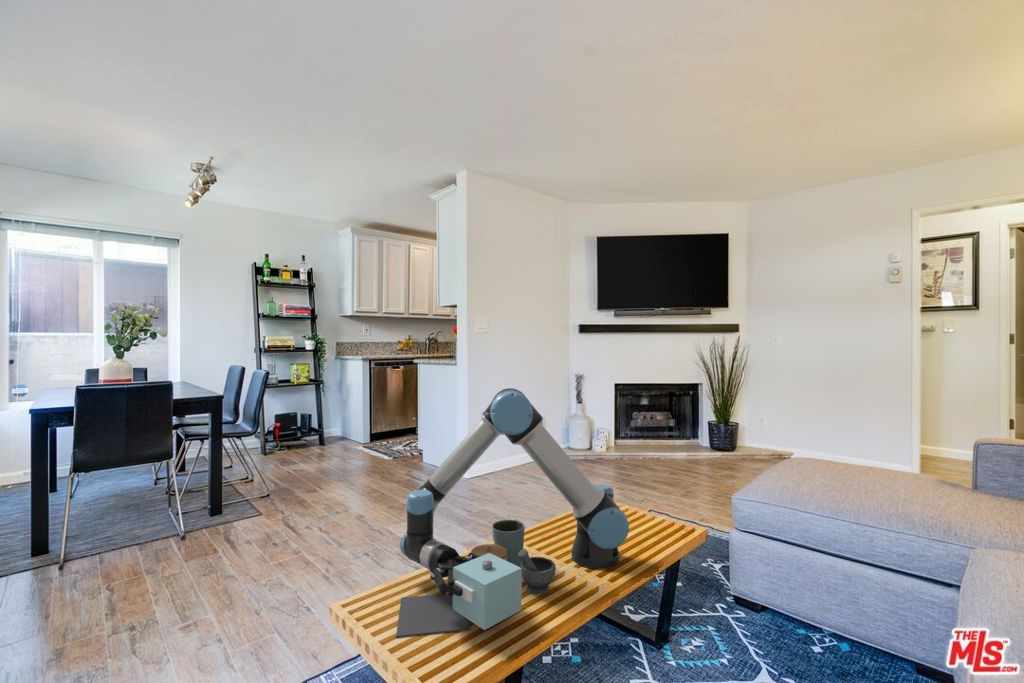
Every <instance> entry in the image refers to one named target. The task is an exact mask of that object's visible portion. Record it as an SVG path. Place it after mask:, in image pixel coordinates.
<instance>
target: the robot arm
mask: <svg viewBox="0 0 1024 683" xmlns="http://www.w3.org/2000/svg"><path fill="white" fill-rule="evenodd" d="M501 435H504V436H506V438H507V439H508V441H510V443H511V444H512V445H515V446H516V445H518V446H520V447H522V449H523V450H524V451H525V453H526V454H528V456H529V457H530V458H531V460H532V461H533V462H534V463H535V464H536V465H537V467H539V469H540V470H541V471H542V472H543V474H544V475H545V476H546V477H547V478H548V479H549V481H550V482H551V483H552V485H554V487H555V488H556V489H557V490H558V491H559V492H560V494H561V495H562V496H563V497H564V499H565V500H566V501H567V502H568V504H569V505H571V507H572V516H573V517H574V518H575V520H576V534H575V538H574V541H573V544H572V546H571V560H572V561H573V562H574V563H576V564H577V565H579V566H581V567H583V568H584V567H585V568H589V569H596V570H603V569H604V570H605V569H610V568H613V567H616V566H617V565H618V564H620V561H621V559H620V551H619V547H620V546H621V545H622V544H623V543H624V542H625V541H626V539H627V538H628V535H629V532H630V523H629V520H628V517H627V515H626V514H625V513H624V512H623V511H622V509H620V507H619V506H618V505H617V504H616V502H615V501H614V496H615V493H614V488H613V487H612V486H611V485H607V484H594V483H592V482H591V481H590V480H589V479H588V478H587V476H586V475H585V474H584V472H582V470H581V468H579V467H578V465H577V464H576V463H575V462H574V461H573V460H572V459H571V457H570V456H569V455H568V454H567V452H566V451H565V450H564V449H563V448H562V447H561V445H560V444H559V443H558V442H557V441H556V440H555V438H554V437H553V436H552V435H551V433H550V432H549V431H548V430H547V429H546V428H545V426H544V417H543V416H542V415H541V414H540V412H539V411H538V410H537V409H536V407H535V406H534V405H533V404H532V403H531V401H530V400H529V399H528V398H527V396H526V395H525V394H524V393H523V392H522V391H520V389H519V390H518V389H516V388H510V387H509V388H503V389H502V390H500V391H498V392H497V393H496V394H495V395H494V397H493V399H492V400H491V402H490V403H489V405H488V406H487V407H486V409H484V411H483V412H482V413H481V419H480V420H479V422H478V423H477V424H476V425H475V426H474V427H473V428H472V430H470V432H469V433H468V434H467V435H466V436H465V437H464V438H463V440H462V441H461V442H460V443H458V445H457V446H456V448H455V449H453V451H451V453H450V455H448V457H446V459H445V460H444V461H443V462H442V463H441V464H440V466H439V467H438V468H437V469H436V470H435V471H434V472H433V473H432V475H431V476H430V477H429V478H428V479H427V480H426V481H425V482H424V483H423V484H422V485H421V486H420V487H419V488H418V489H416V490H414V491H410V492H409V494H407V500H406V501H407V503H406V532H405V533H404V534H403V535H402V537H401V539H400V542H399V550H400V552H401V553H402V554H403V555H404V556H405V557H406V558H407V559H408V560H410V561H413V562H414V563H416V564H419V565H421V566H422V567H423V568H426V569H427V570H429V571H430V572H429V573H430V574H429V575H430V576H429V577H430V578H429V579H431V581H432V580H433V582H434V585H435V586H436V588H437V589H438V591H439V594H441V595H445V594H448V596H450V597H451V596H453V594H455V595H456V596H460V597H462V598H463V599H465V600H467V601H468V602H470V603H474V590H472V589H471V588H469V587H467V586H465V585H464V584H462V583H460V582H459V581H455V582H454V584H453V567H455V566H458V565H460V564H463V563H465V562H468V561H470V560H473V559H475V558H478V557H480V555H476V554H473V553H471V552H469V553H468V556H466V557H465V556H460V555H459V553H458V551H457V550H456V549H455V548H453V547H451V546H449V545H447V544H446V543H444V542H442V541H439V540H438V539H436V538H434V515H435V513H436V510H437V507H438V505H439V504H440V503H441V501H443V499H444V498H445V497H446V496H447V495H448V493H449V492H450V491H451V490H452V489H453V488H454V487H455V486H456V485H457V483H458V482H460V480H461V479H462V478H463V477H464V476H465V474H466V473H468V471H469V470H470V469H471V468H472V466H474V464H475V463H476V462H478V460H479V459H480V458H481V456H482V455H483V454H484V453H485V452H486V451H487V450H488V449H489V447H490V446H491V445H492V444H493V443H494V442H495V441H496V440H497V439H498V437H499V436H501ZM444 578H447V583H446V581H445V579H444Z"/></svg>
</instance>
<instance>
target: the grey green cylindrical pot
mask: <svg viewBox="0 0 1024 683" xmlns="http://www.w3.org/2000/svg"><path fill="white" fill-rule="evenodd" d="M525 526H526V525H525V523H524V522H522V521H520V520H517V519H500V520H498V521H495V522H494V523H492V525H491V531H492V540H493V544H495V545H500V546H503V547H504V548H506V550H507V561H508V562H510V563H512V564H514V565H516V566H518V567H520V564H521V562H522V560H521V559H520V558H519V556H518V553H519V552H520V551H521V550H523V549H524V539H525Z"/></svg>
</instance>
